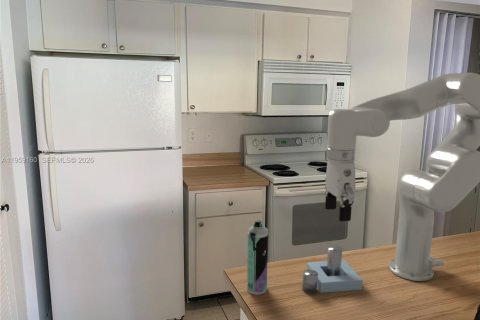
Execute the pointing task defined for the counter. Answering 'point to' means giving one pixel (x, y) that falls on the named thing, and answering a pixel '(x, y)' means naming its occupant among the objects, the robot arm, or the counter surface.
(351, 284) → the collar block
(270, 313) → the counter surface
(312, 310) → the counter surface
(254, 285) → the spray can
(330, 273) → the long pin
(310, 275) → the short pin
